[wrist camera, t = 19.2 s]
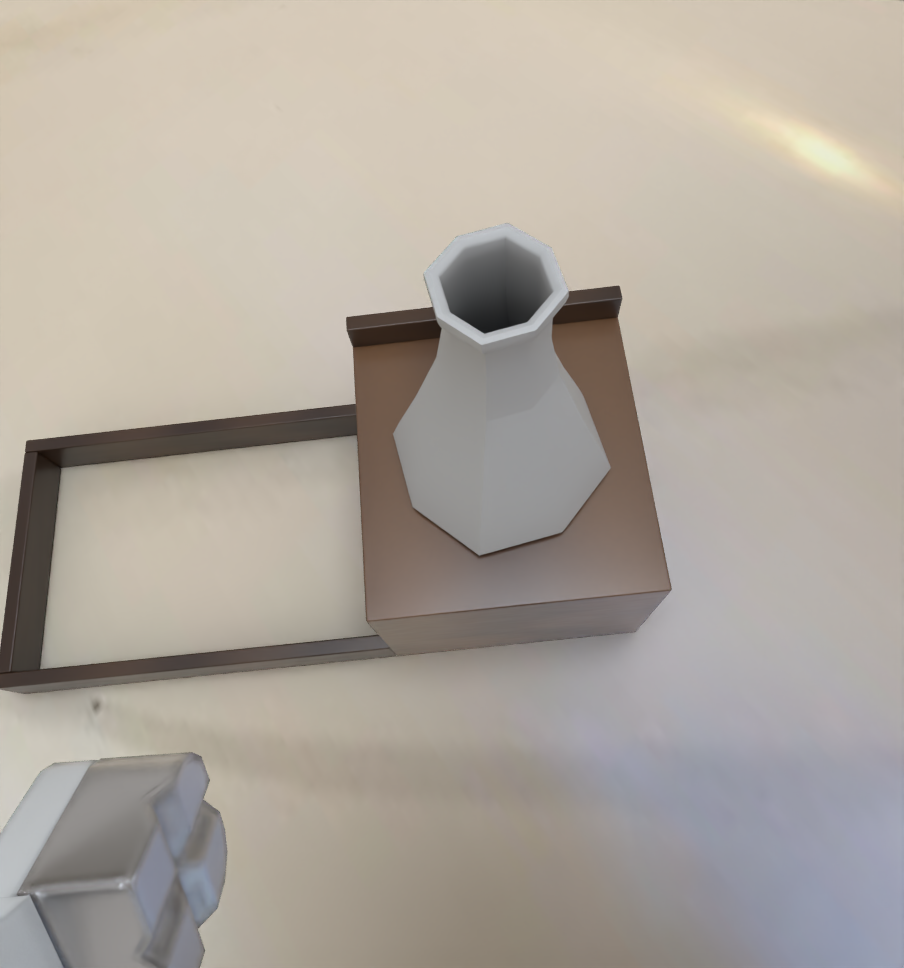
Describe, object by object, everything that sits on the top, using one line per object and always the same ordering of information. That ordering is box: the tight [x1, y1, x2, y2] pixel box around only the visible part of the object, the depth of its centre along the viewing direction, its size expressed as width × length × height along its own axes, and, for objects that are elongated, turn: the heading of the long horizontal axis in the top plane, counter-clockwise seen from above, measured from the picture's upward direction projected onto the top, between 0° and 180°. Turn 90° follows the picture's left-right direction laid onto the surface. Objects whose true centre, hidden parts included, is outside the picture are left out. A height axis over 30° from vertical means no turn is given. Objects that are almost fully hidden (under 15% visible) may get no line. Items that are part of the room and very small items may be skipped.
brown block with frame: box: [0, 286, 671, 694], centre depth 30 cm, size 26×11×9 cm, turn 95°
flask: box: [393, 223, 611, 556], centre depth 22 cm, size 7×7×10 cm
